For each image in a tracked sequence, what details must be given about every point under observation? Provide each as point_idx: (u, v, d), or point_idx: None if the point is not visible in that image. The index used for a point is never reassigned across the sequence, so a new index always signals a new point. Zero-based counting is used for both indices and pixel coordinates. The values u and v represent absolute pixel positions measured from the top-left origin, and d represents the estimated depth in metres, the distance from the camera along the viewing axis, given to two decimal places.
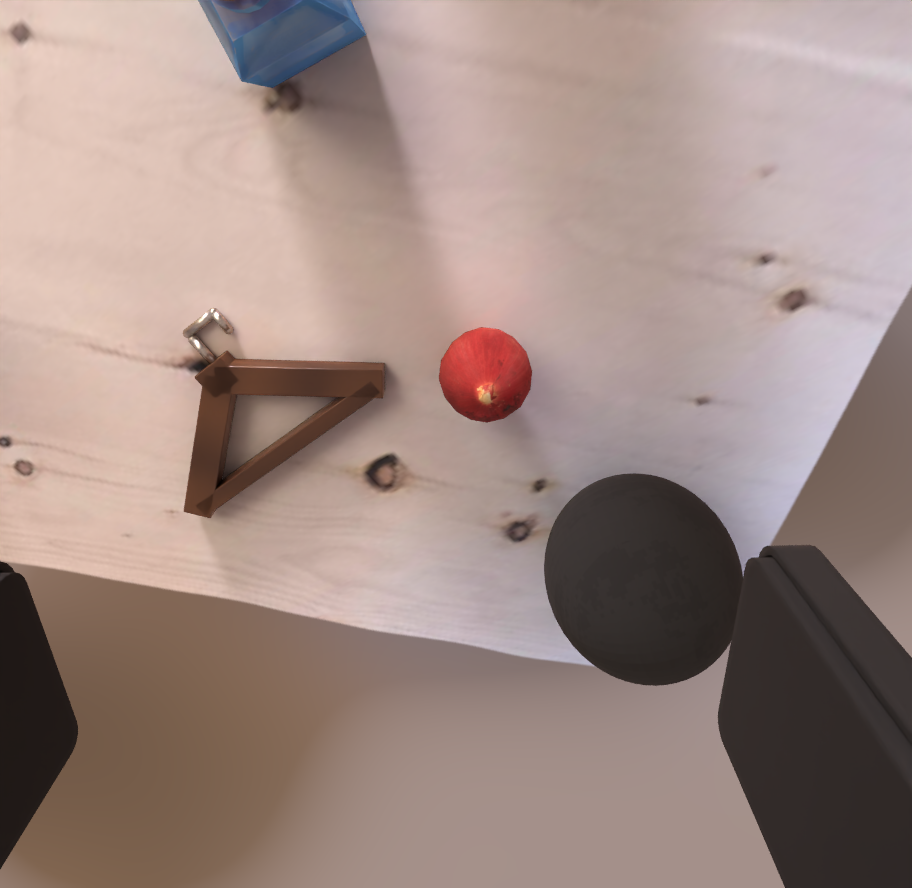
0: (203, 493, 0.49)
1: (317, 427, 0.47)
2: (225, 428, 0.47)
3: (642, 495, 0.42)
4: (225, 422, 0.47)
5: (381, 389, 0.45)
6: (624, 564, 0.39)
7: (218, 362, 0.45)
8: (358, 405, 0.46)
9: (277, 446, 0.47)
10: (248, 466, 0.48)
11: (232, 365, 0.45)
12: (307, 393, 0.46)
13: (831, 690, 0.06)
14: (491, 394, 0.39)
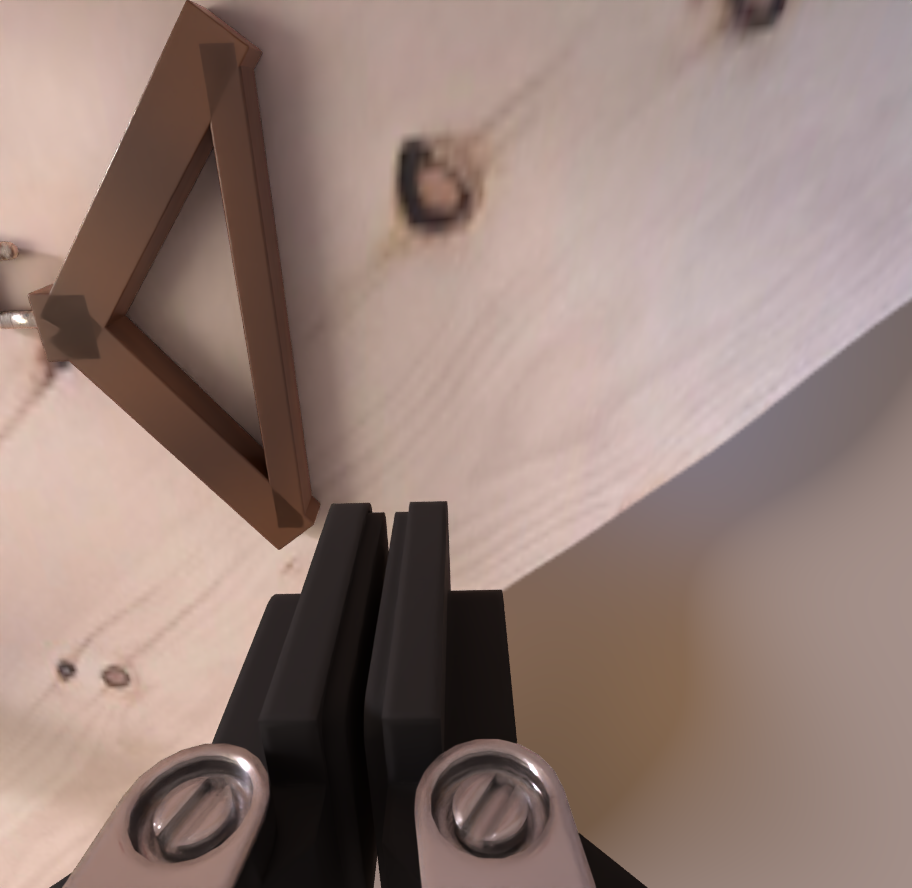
0: (264, 501, 0.26)
1: (243, 227, 0.22)
2: (165, 383, 0.24)
3: None
4: (153, 375, 0.24)
5: (228, 34, 0.19)
6: None
7: (35, 303, 0.23)
8: (239, 111, 0.20)
9: (244, 326, 0.23)
10: (256, 401, 0.24)
11: (55, 286, 0.23)
12: (165, 193, 0.21)
13: None
14: None
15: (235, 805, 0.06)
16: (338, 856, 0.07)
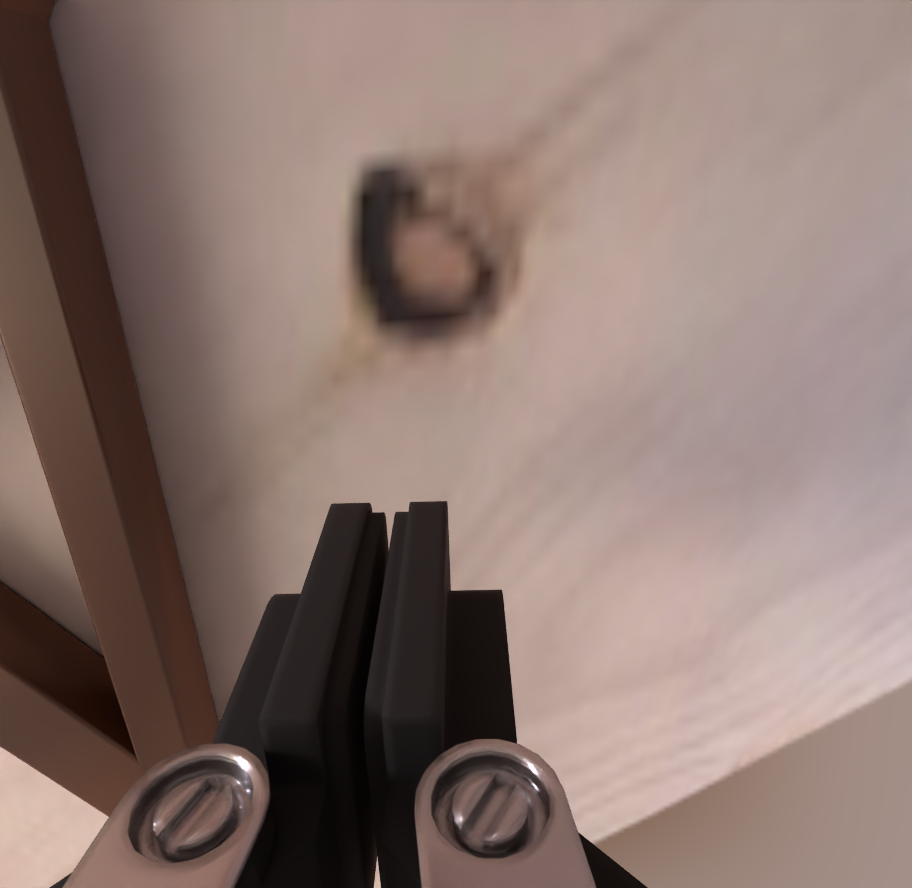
0: None
1: (36, 344, 0.11)
2: None
3: None
4: None
5: None
6: None
7: None
8: None
9: (62, 521, 0.12)
10: (102, 639, 0.13)
11: None
12: None
13: None
14: None
15: (235, 805, 0.06)
16: (338, 856, 0.07)
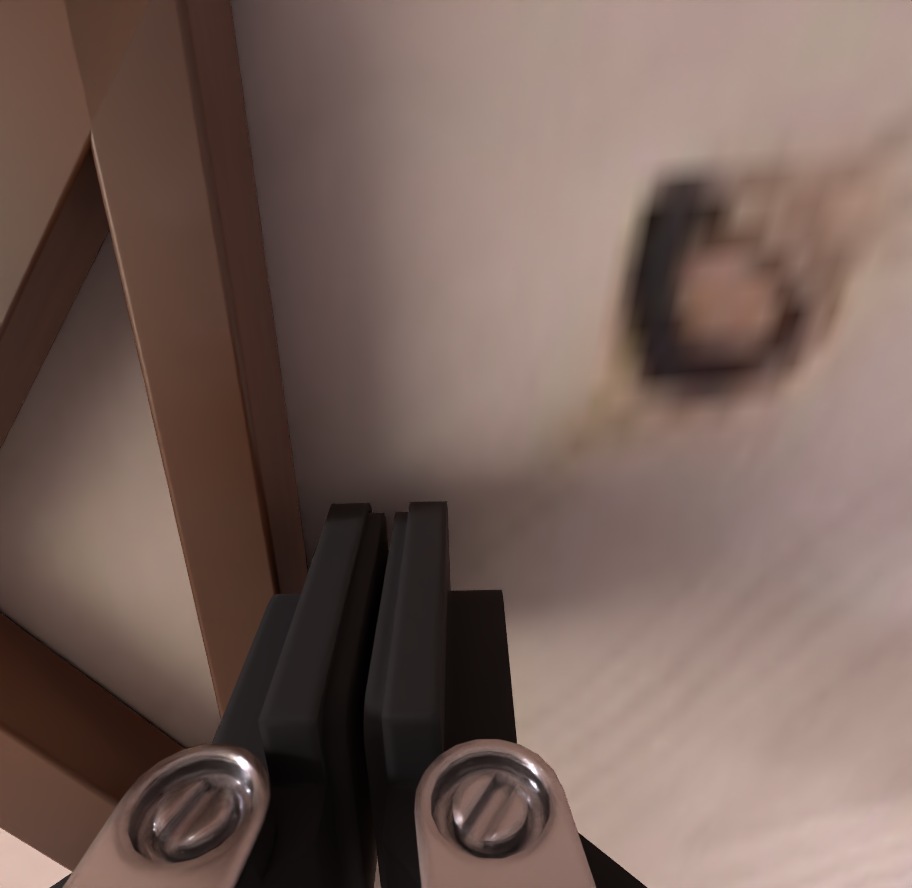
0: None
1: (197, 421, 0.08)
2: (23, 740, 0.10)
3: None
4: None
5: None
6: None
7: None
8: (178, 108, 0.07)
9: (204, 635, 0.09)
10: None
11: None
12: None
13: None
14: None
15: (235, 805, 0.06)
16: (338, 856, 0.07)
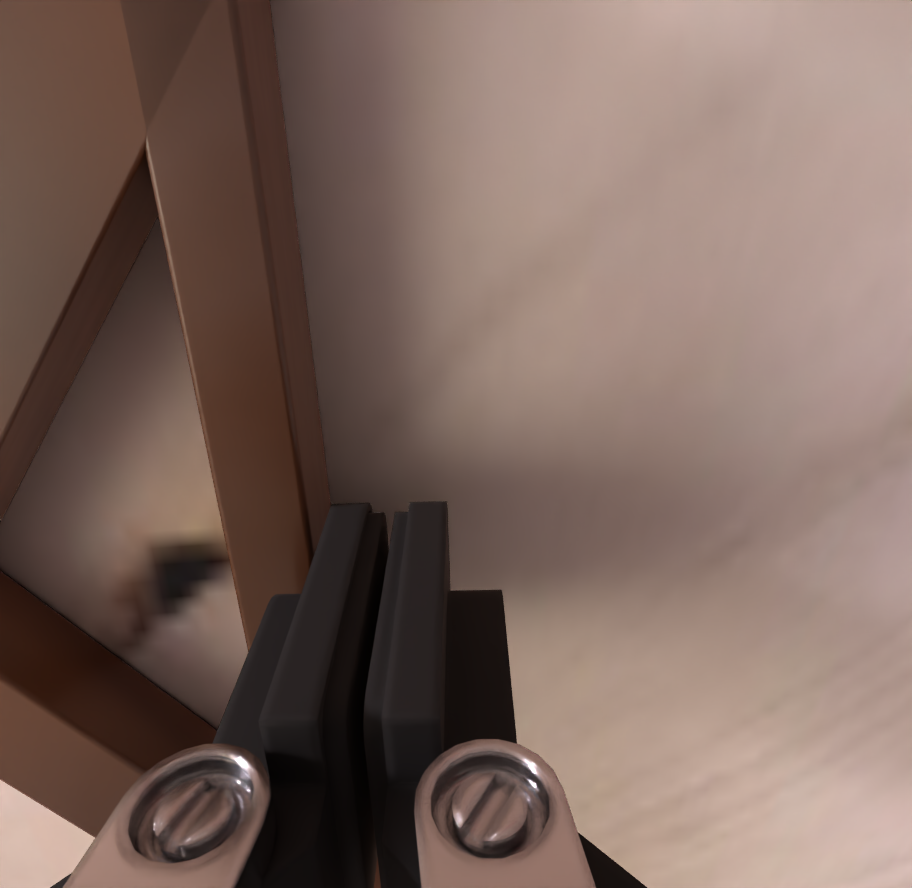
0: None
1: (240, 411, 0.08)
2: (67, 720, 0.11)
3: None
4: (38, 707, 0.11)
5: None
6: None
7: None
8: (229, 115, 0.07)
9: (243, 617, 0.10)
10: None
11: None
12: (32, 333, 0.08)
13: None
14: None
15: (235, 805, 0.06)
16: (338, 856, 0.07)
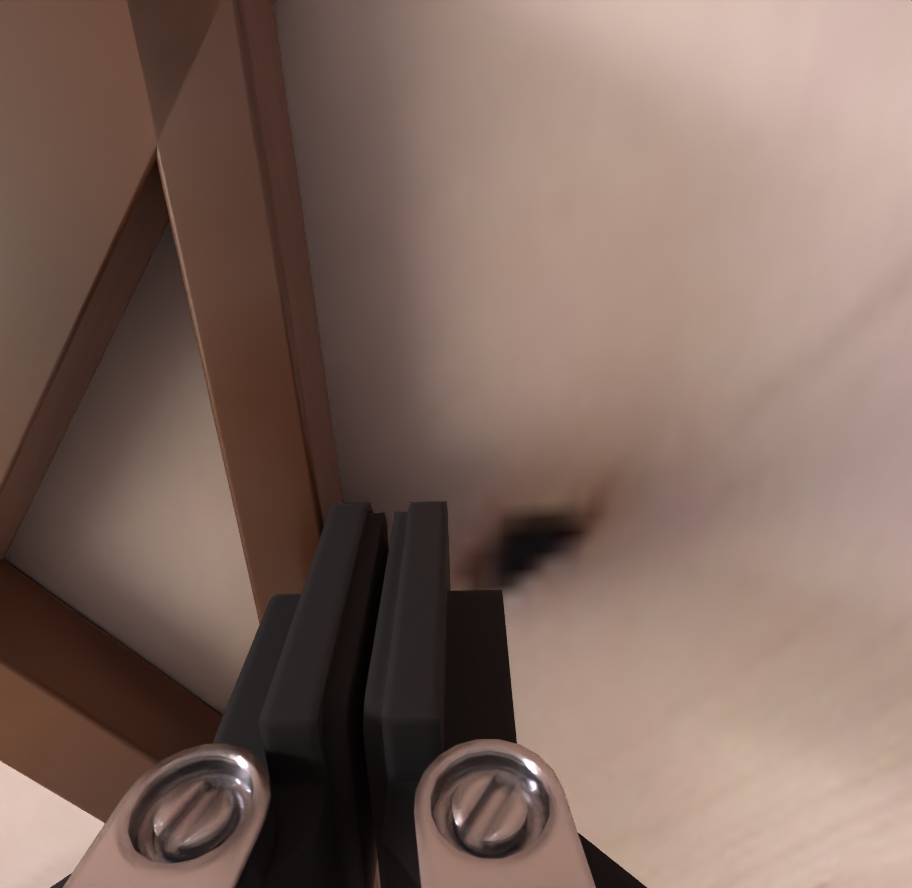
0: None
1: (253, 411, 0.09)
2: (89, 717, 0.11)
3: None
4: (61, 704, 0.11)
5: None
6: None
7: None
8: (237, 122, 0.07)
9: (259, 612, 0.10)
10: None
11: None
12: (49, 338, 0.08)
13: None
14: None
15: (236, 805, 0.06)
16: (339, 856, 0.07)
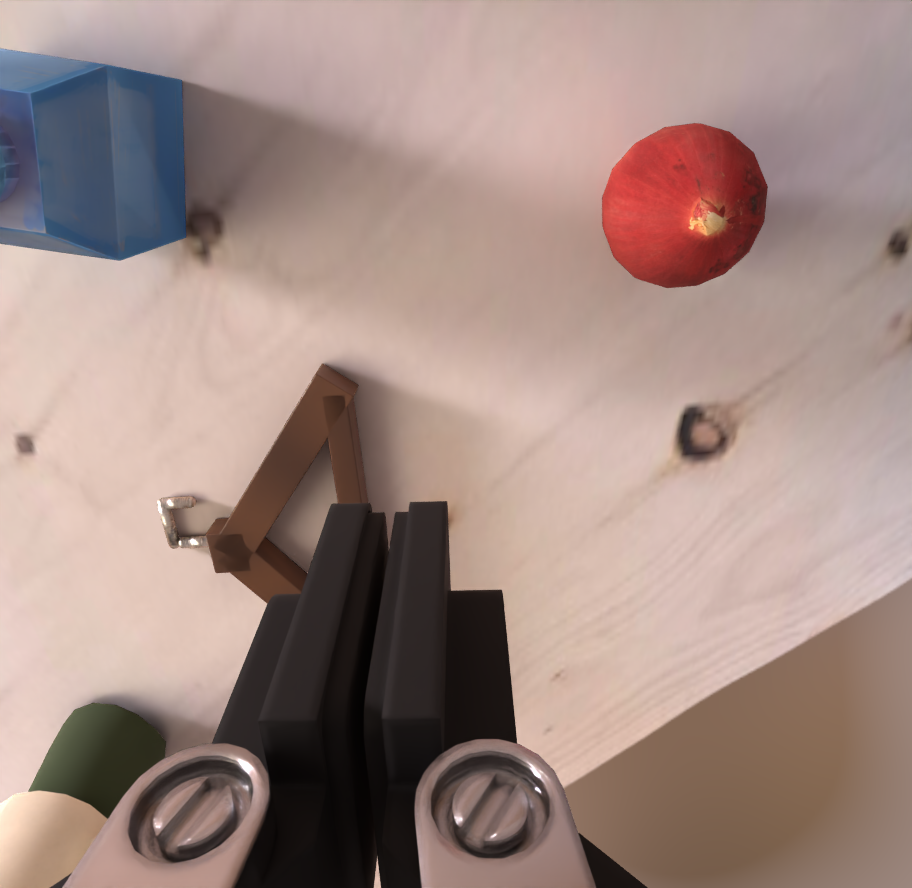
0: None
1: (347, 492, 0.33)
2: (292, 584, 0.36)
3: None
4: (285, 579, 0.35)
5: (340, 390, 0.31)
6: None
7: (210, 539, 0.34)
8: (346, 430, 0.32)
9: None
10: None
11: (223, 527, 0.34)
12: (298, 476, 0.33)
13: None
14: (714, 210, 0.22)
15: (235, 805, 0.06)
16: (338, 856, 0.07)
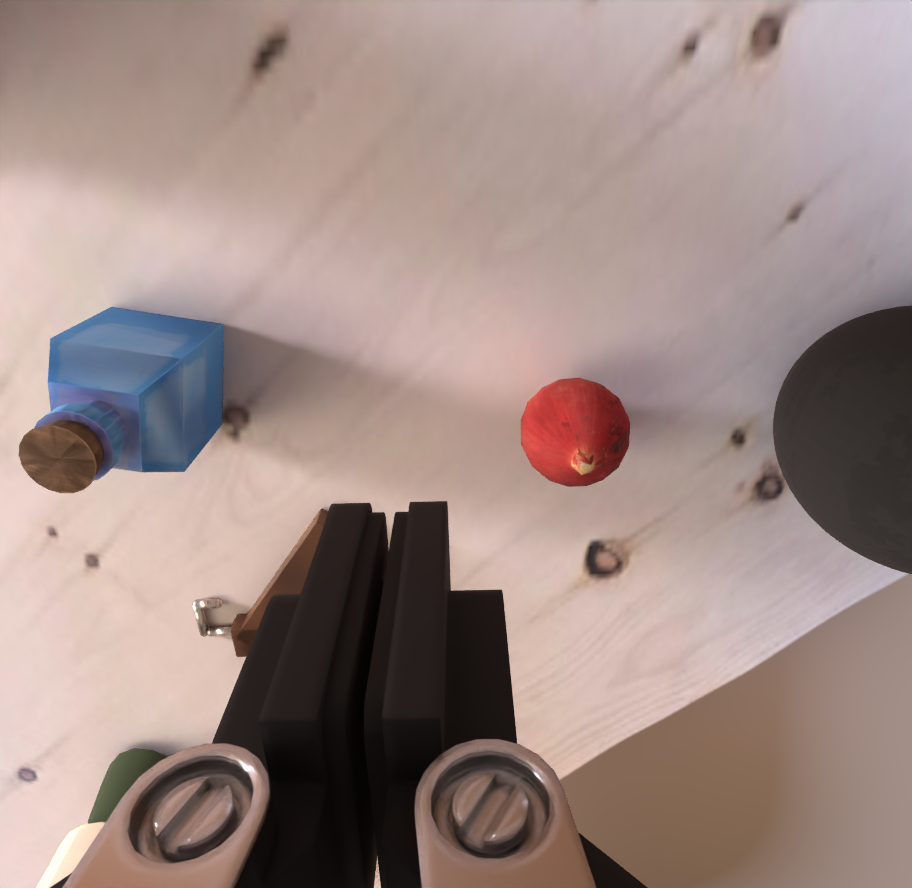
0: None
1: None
2: None
3: (827, 383, 0.31)
4: None
5: None
6: (879, 479, 0.28)
7: (233, 633, 0.45)
8: None
9: None
10: None
11: (243, 624, 0.45)
12: (301, 590, 0.44)
13: None
14: (585, 460, 0.33)
15: (235, 805, 0.06)
16: (338, 856, 0.07)
